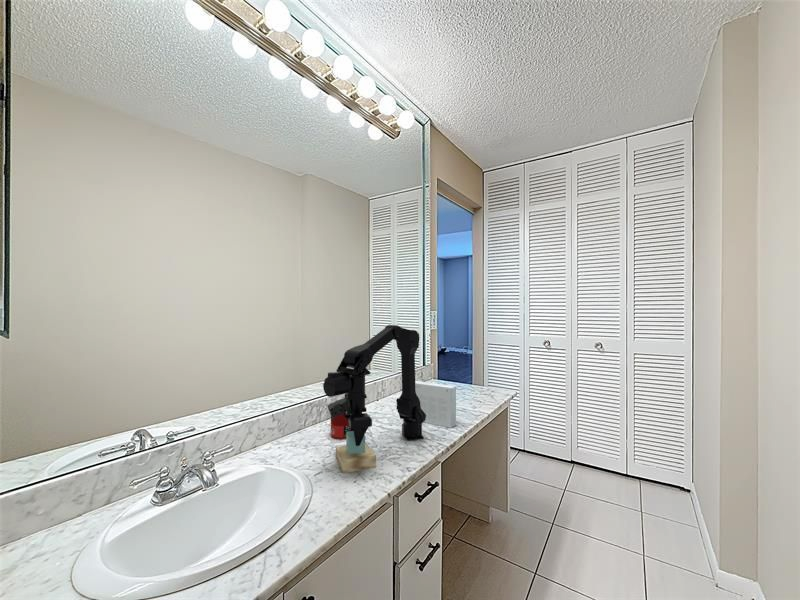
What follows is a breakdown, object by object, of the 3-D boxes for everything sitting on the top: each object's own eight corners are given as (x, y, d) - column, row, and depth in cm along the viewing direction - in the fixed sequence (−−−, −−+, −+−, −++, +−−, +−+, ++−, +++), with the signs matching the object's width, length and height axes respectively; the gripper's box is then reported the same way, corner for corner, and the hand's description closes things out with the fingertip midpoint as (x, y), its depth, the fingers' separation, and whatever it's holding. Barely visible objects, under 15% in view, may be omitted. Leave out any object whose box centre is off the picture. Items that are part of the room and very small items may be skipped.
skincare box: (456, 424, 137) (456, 385, 137) (451, 428, 132) (451, 388, 133) (412, 415, 148) (412, 379, 149) (405, 419, 144) (406, 381, 144)
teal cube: (361, 445, 107) (362, 430, 107) (365, 452, 102) (365, 435, 102) (346, 447, 105) (346, 431, 105) (348, 454, 100) (349, 437, 100)
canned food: (347, 440, 120) (348, 409, 120) (327, 438, 122) (327, 408, 122) (354, 432, 128) (355, 403, 128) (335, 431, 129) (335, 402, 130)
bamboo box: (365, 454, 110) (366, 441, 110) (375, 468, 101) (376, 454, 101) (335, 459, 106) (335, 446, 106) (343, 474, 97) (343, 460, 97)
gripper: (326, 385, 110) (325, 433, 110) (333, 400, 92) (332, 457, 92) (359, 383, 114) (359, 429, 113) (372, 397, 96) (372, 452, 96)
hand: (355, 441), depth 103 cm, fingers open, 7 cm apart
